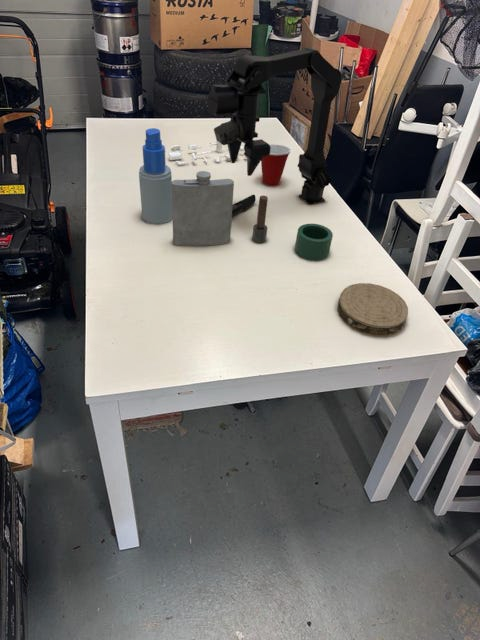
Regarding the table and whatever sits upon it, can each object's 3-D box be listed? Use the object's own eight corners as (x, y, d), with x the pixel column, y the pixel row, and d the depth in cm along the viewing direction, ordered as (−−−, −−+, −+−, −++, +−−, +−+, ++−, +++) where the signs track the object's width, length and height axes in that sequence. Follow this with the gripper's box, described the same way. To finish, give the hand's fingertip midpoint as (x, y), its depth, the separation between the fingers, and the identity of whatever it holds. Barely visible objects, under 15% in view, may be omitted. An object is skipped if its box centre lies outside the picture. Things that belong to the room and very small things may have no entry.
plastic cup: (276, 173, 166) (281, 140, 158) (291, 186, 158) (297, 152, 151) (249, 177, 162) (252, 143, 154) (264, 190, 154) (268, 155, 147)
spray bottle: (152, 206, 141) (148, 122, 125) (178, 214, 138) (176, 129, 122) (136, 218, 135) (128, 131, 118) (162, 227, 132) (158, 139, 116)
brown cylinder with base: (261, 234, 133) (266, 192, 124) (268, 241, 130) (274, 199, 122) (249, 237, 131) (253, 195, 123) (256, 244, 129) (261, 201, 120)
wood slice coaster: (416, 332, 105) (421, 323, 103) (352, 339, 102) (355, 329, 100) (386, 290, 117) (389, 280, 115) (327, 295, 113) (329, 285, 111)
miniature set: (247, 145, 181) (258, 162, 174) (159, 157, 172) (167, 175, 165) (248, 130, 176) (259, 147, 169) (158, 141, 167) (166, 159, 160)
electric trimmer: (258, 205, 147) (259, 196, 145) (227, 221, 137) (228, 212, 135) (248, 201, 148) (249, 192, 146) (218, 217, 139) (218, 207, 137)
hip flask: (229, 237, 131) (233, 169, 117) (231, 244, 128) (236, 176, 115) (172, 239, 128) (170, 170, 114) (174, 247, 125) (172, 177, 111)
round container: (315, 239, 133) (318, 220, 129) (335, 256, 127) (339, 237, 123) (288, 246, 129) (291, 227, 125) (307, 263, 123) (311, 244, 119)
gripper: (202, 103, 123) (201, 160, 134) (237, 126, 112) (232, 187, 122) (238, 100, 128) (234, 155, 138) (275, 122, 116) (267, 180, 127)
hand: (241, 169), depth 131 cm, fingers open, 9 cm apart
